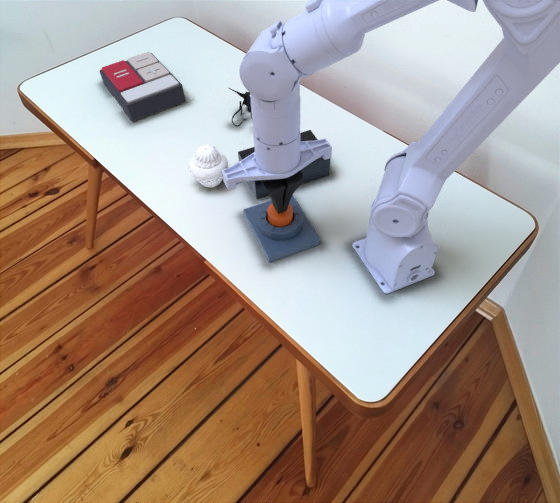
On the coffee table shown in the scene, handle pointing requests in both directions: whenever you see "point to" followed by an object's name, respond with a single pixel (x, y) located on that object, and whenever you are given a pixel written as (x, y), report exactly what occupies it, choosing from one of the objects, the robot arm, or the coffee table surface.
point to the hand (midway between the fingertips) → (279, 207)
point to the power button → (280, 216)
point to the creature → (245, 102)
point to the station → (281, 232)
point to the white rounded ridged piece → (208, 166)
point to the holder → (310, 172)
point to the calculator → (142, 85)
